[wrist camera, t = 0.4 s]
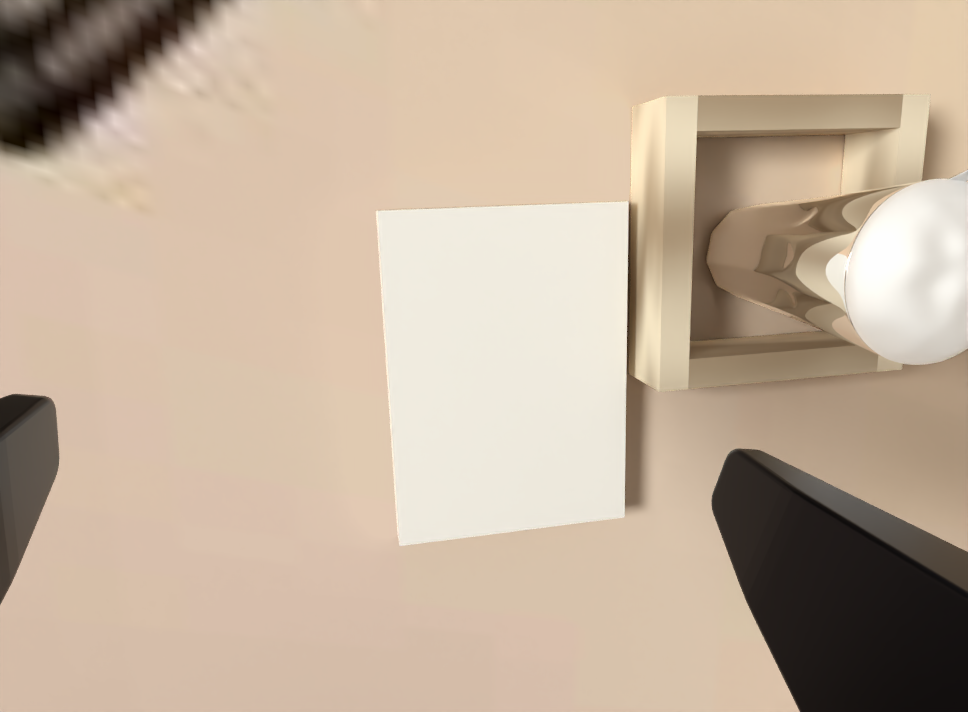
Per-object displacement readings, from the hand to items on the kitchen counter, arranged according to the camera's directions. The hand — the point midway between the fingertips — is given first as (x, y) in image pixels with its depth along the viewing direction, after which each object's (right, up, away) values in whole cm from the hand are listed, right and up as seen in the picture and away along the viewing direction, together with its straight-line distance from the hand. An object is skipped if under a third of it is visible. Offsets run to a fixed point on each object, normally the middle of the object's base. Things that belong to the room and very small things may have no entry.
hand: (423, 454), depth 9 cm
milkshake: (+10, +5, +16) cm, 19 cm away
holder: (+10, +5, +15) cm, 19 cm away
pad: (+2, +1, +15) cm, 15 cm away
